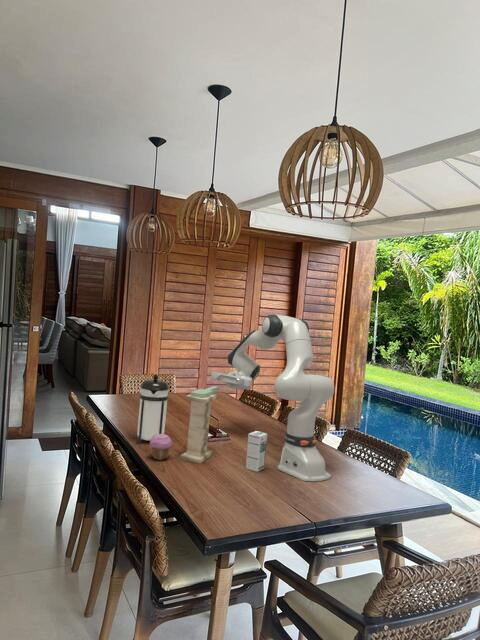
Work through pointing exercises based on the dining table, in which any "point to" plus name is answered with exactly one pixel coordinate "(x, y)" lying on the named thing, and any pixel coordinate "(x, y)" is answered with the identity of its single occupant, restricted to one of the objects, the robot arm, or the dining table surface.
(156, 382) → the coffee press
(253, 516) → the dining table surface
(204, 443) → the stand
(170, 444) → the cupcake
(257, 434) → the syrup box
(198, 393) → the spatula
